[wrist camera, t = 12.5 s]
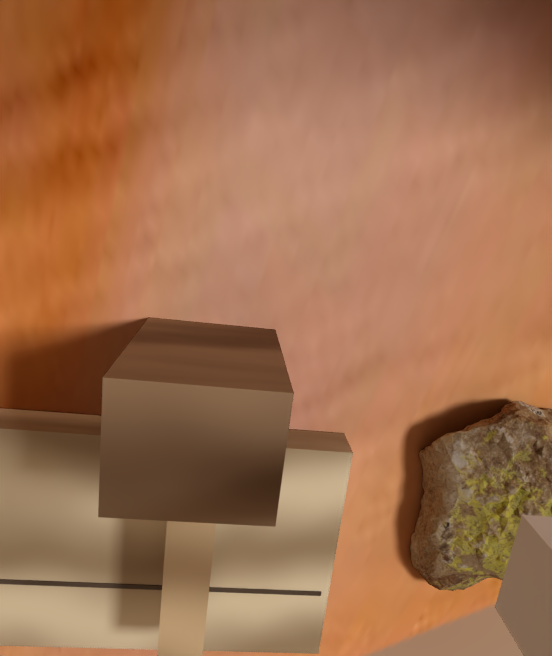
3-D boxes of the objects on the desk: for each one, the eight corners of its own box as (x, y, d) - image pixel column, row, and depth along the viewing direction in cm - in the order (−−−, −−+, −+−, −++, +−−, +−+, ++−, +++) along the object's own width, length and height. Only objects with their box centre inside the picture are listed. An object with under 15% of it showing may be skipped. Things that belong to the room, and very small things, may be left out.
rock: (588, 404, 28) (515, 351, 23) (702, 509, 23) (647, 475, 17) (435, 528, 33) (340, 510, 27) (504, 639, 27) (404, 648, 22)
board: (-255, 389, 22) (-303, 408, 20) (343, 433, 25) (353, 453, 23) (-219, 605, 25) (-258, 640, 23) (312, 622, 28) (318, 654, 26)
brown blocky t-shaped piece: (148, 317, 23) (102, 377, 15) (275, 329, 23) (293, 393, 16) (133, 583, 26) (90, 741, 19) (243, 587, 27) (245, 742, 19)
